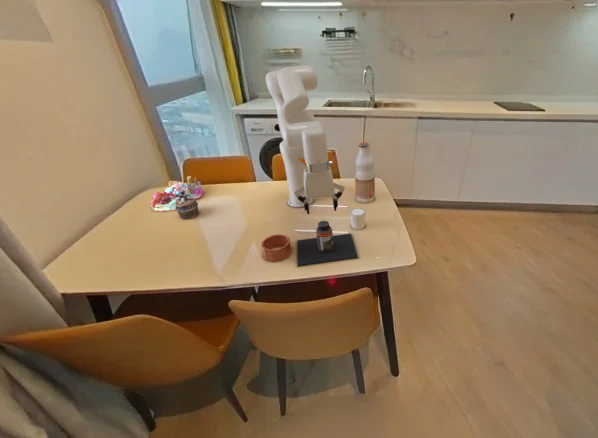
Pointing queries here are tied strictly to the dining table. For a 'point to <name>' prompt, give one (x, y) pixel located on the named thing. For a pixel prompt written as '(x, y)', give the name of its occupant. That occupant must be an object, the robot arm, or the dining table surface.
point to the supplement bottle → (324, 236)
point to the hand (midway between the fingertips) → (321, 210)
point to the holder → (276, 253)
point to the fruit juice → (364, 174)
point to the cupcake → (186, 206)
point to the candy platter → (175, 194)
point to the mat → (312, 255)
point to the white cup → (357, 218)
